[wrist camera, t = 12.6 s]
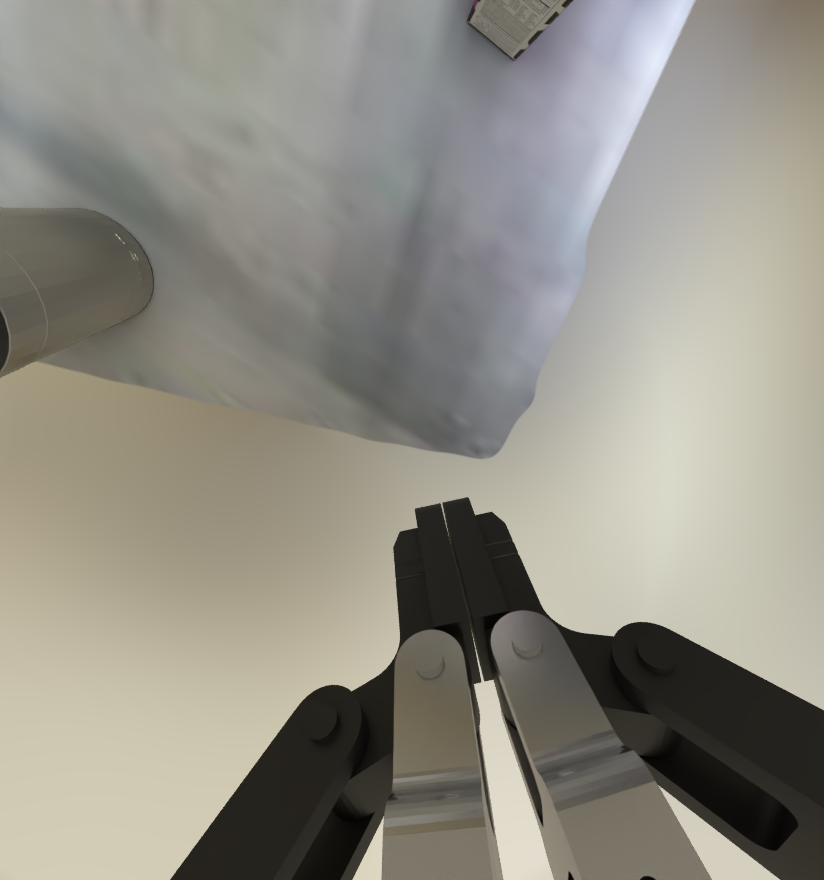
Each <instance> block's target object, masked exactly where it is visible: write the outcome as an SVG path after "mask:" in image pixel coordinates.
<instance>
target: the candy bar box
mask: <svg viewBox="0 0 824 880" xmlns="http://www.w3.org/2000/svg"><path fill="white" fill-rule="evenodd" d="M572 1H573V0H475V1H474V4H473V6H472V9H471V12H470V14H469V17H468V19H467V22H468V23H469V24H470V25H471V26H473V27H474V28H475V29H476V30H477V31H478V32H480V33H481V34H483V35H485V36H486V37H487V38H489V39H490V40H491V41H492V42H493V43H495V44H496V45H497V46H498V47H499V48H500V49H502V50H503V51H504V52H505V53H506V54H508V55H509V56H510V57H511V58H512V59H514V60H516V59H517V58H518V57H519V56H520V55H521V54H522V53H523V52H524V51H525V50H526V49H527V48H528V47H529V46H530V45H531V44H532V43H533V41H534V40H535V39H536V38H537V37H538V36H539V35H540V34H541V33H542V32H543V31H544V30H545V29H546V28H547V27H548V26H549V25H550V24H551V23H552V22H553V21H554V20H555V18H556V17H558V16H559V15H560V14H561V12H562V11H563V10H564V9H565V8H566V7H567V6H568V5H569V4H570V3H571V2H572Z"/></svg>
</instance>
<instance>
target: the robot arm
mask: <svg viewBox="0 0 824 880" xmlns="http://www.w3.org/2000/svg"><path fill="white" fill-rule="evenodd" d="M152 291H153V276H152V271H151V267H150V264H149V262H148V259H147V257H146V255H145V253H144V252H143V250H142V248H141V247H140V245H139V244H138V243H137V241H136V240H135V239H134V238H133V237H132V235H131V234H130V233H129V232H127V231H126V230H125V229H124V228H123V227H122V226H120V225H119V224H118V223H116V222H115V221H113V220H111V219H110V218H108V217H106V216H104V215H102V214H99V213H97V212H94V211H90V210H85V209H67V208H0V378H1V377H3V376H5V375H7V374H9V373H11V372H14V371H16V370H18V369H20V368H22V367H24V366H26V365H28V364H30V363H33V362H35V361H37V360H39V359H41V358H43V357H46V356H48V355H50V354H52V353H54V352H56V351H59V350H61V349H63V348H65V347H67V346H69V345H72V344H74V343H76V342H78V341H80V340H82V339H85V338H87V337H89V336H91V335H93V334H96V333H98V332H100V331H102V330H104V329H106V328H109V327H111V326H113V325H115V324H118V323H120V322H122V321H124V320H126V319H128V318H130V317H132V316H134V315H136V314H138V313H139V312H141V311H142V310H143V309H144V308H145V307H146V305H147V304H148V302H149V300H150V298H151V294H152ZM443 508H444V513H445V518H446V523H447V528H448V532H447V528H446V524H445V520H444V516H443V512H442V508H441V504H440V503H439V504H435V505H430V506H426V507H421V508H416V509H415V514H416V520H417V526H418V528H415V529H411V530H405V531H401V532H400V533H399V535H398V537H397V540H396V542H395V545H394V547H393V549H394V562H395V575H396V588H397V601H398V613H399V626H400V643H399V648H398V651H397V654H396V655H395V657H394V659H393V661H392V662H391V664H390V665H389V666H388V667H387V669H386V670H384V671H383V672H382V673H381V674H380V675H379V676H377V677H375V678H374V679H372V680H370V681H369V682H367V683H365V684H364V685H362V686H361V687H359V688H357V689H355V690H353V691H350V690H349V689H347V688H345V687H343V686H339V685H329V686H325V687H322V688H319V689H317V690H315V691H314V692H312V693H311V694H310V695H308V696H307V697H306V698H305V699H304V700H303V701H302V702H301V703H300V704H299V706H298V707H297V708H296V710H295V711H294V713H293V714H292V715H291V716H290V718H289V719H288V721H287V722H286V723H285V725H284V726H283V727H282V729H281V730H280V731H279V733H278V734H277V736H276V737H275V738H274V740H273V741H272V742H271V744H270V745H269V746H268V748H267V749H266V750H265V752H264V753H263V755H262V756H261V757H260V759H259V760H258V762H257V763H256V764H255V765H254V767H253V768H252V769H251V771H250V772H249V774H248V775H247V776H246V778H245V779H244V780H243V782H242V783H241V784H240V786H239V787H238V788H237V790H236V791H235V792H234V794H233V795H232V797H231V798H230V799H229V801H228V802H227V803H226V805H225V806H224V807H223V809H222V810H221V811H220V813H219V814H218V816H217V817H216V818H215V820H214V821H213V823H212V824H211V825H210V826H209V828H208V829H207V831H206V832H205V833H204V835H203V836H202V837H201V839H200V840H199V842H198V843H197V844H196V845H195V847H194V848H193V849H192V851H191V852H190V854H189V855H188V857H187V858H186V859H185V860H184V862H183V863H182V864H181V866H180V867H179V868H178V870H177V871H176V873H175V874H174V875H173V877H172V878H171V879H170V880H352V879H353V877H354V875H355V873H356V871H357V869H358V867H359V865H360V863H361V861H362V859H363V857H364V855H365V853H366V851H367V849H368V847H369V845H370V843H371V841H372V839H373V836H374V835H375V833H376V831H377V829H378V827H379V825H380V823H381V820H382V818H383V816H384V825H383V850H382V852H383V853H382V880H503V875H502V870H501V863H500V858H499V852H498V847H497V840H496V835H495V828H494V821H493V815H492V807H491V801H490V794H489V787H488V781H487V774H486V768H485V761H484V754H483V747H482V741H481V734H480V727H479V725H480V714H479V707H478V702H477V698H476V693H475V689H474V684H476V683H480V682H481V677H480V672H479V667H478V662H477V657H476V652H475V646H476V650H477V654H478V658H479V662H480V666H481V670H482V674H483V678H484V681H489V680H494V683H495V687H496V690H497V694H498V697H499V702H500V706H501V713H502V718H503V721H504V724H505V727H506V730H507V733H508V736H509V739H510V742H511V745H512V748H513V751H514V754H515V757H516V760H517V763H518V766H519V768H520V772H521V775H522V778H523V781H524V783H525V786H526V789H527V792H528V795H529V798H530V801H531V804H532V807H533V810H534V813H535V816H536V819H537V822H538V825H539V829H540V831H541V835H542V839H543V842H544V846H545V850H546V854H547V858H548V861H549V864H550V868H551V871H552V874H553V877H554V880H712V879H711V877H710V875H709V874H708V872H707V870H706V869H705V867H704V865H703V863H702V861H701V860H700V858H699V856H698V855H697V853H696V851H695V849H694V847H693V846H692V844H691V842H690V840H689V839H688V837H687V835H686V833H685V832H684V830H683V828H682V827H681V825H680V823H679V821H678V819H677V818H676V816H675V814H674V812H673V811H672V809H671V807H670V805H669V804H668V802H667V800H666V798H665V797H664V795H663V793H662V791H661V790H660V788H659V786H660V787H662V788H663V789H664V790H666V791H667V792H668V793H669V794H671V795H672V796H673V797H675V798H676V799H677V800H678V801H680V802H681V803H682V804H684V805H685V806H686V807H687V808H689V809H690V810H691V811H692V812H694V813H695V814H696V815H698V816H699V817H700V818H702V819H703V820H704V821H705V822H707V823H708V824H709V825H711V826H712V827H713V828H715V829H716V830H717V831H718V832H720V833H721V834H722V835H723V836H725V837H726V838H727V839H729V840H730V841H731V842H732V843H734V844H735V845H736V846H738V847H739V848H740V849H741V850H743V851H744V852H745V853H747V854H748V855H749V856H750V857H752V858H753V859H754V860H756V861H757V862H758V863H759V864H761V865H762V866H763V867H765V868H766V869H767V870H769V871H770V872H771V873H772V874H774V875H775V876H776V877H778V878H779V879H780V880H824V710H822V709H820V708H818V707H816V706H814V705H812V704H811V703H809V702H807V701H805V700H803V699H801V698H799V697H797V696H795V695H793V694H792V693H790V692H788V691H786V690H784V689H782V688H780V687H778V686H776V685H774V684H772V683H771V682H769V681H767V680H765V679H763V678H761V677H759V676H757V675H755V674H753V673H751V672H749V671H748V670H746V669H744V668H742V667H740V666H738V665H736V664H734V663H732V662H731V661H729V660H727V659H725V658H723V657H721V656H719V655H717V654H715V653H713V652H711V651H709V650H708V649H706V648H704V647H702V646H700V645H698V644H696V643H694V642H692V641H690V640H689V639H686V638H685V637H683V636H681V635H679V634H677V633H675V632H673V631H671V630H670V629H667V628H665V627H663V626H660V625H657V624H653V623H648V622H636V623H631V624H628V625H625V626H623V627H622V628H621V629H619V630H618V631H617V633H616V634H615V636H614V637H613V636H604V635H595V634H585V633H579V632H575V631H572V630H569V629H567V628H565V627H563V626H561V625H559V624H558V623H556V622H555V621H554V620H553V619H551V618H550V617H549V615H547V613H546V612H545V611H544V609H543V608H542V606H541V604H540V602H539V599H538V597H537V595H536V592H535V590H534V588H533V585H532V583H531V581H530V579H529V577H528V574H527V572H526V570H525V567H524V565H523V563H522V560H521V558H520V556H519V555H518V551H517V549H516V547H515V544H514V543H513V541H512V538H511V535H510V533H509V531H508V529H507V526H506V524H505V523H504V522H503V521H502V520H501V519H499V518H498V517H497V516H496V515H495V514H494V513H492V512H489V513H484V514H479V515H475V514H474V511H473V508H472V506H471V503H470V500H469V498H468V497H467V498H462V499H457V500H453V501H448V502H444V503H443ZM448 533H449V536H448ZM449 538H450V540H449ZM450 543H451V544H450ZM471 630H472V631H471ZM472 634H473V636H472ZM473 638H474V642H475V646H474V642H473ZM658 785H659V786H658Z"/></svg>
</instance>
